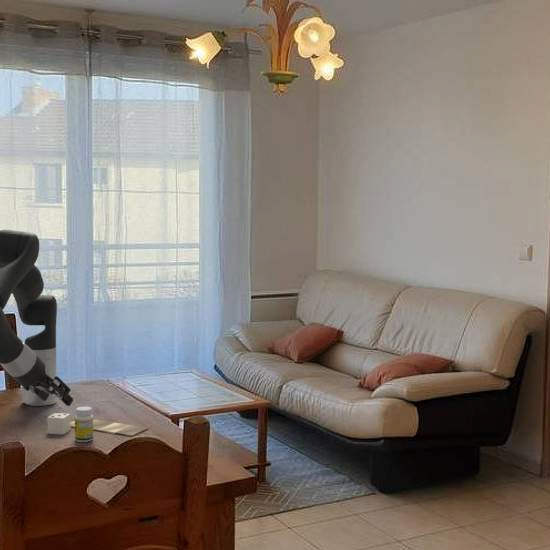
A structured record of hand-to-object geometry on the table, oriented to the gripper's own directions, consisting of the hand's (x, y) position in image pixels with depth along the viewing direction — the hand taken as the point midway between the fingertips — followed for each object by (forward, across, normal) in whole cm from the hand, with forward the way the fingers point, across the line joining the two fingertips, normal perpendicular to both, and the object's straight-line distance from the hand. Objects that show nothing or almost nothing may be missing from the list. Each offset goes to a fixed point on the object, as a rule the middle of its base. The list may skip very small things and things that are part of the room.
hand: (58, 400), depth 204 cm
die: (+16, +11, +2) cm, 19 cm away
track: (+23, +3, -6) cm, 24 cm away
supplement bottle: (+15, 0, +3) cm, 15 cm away
